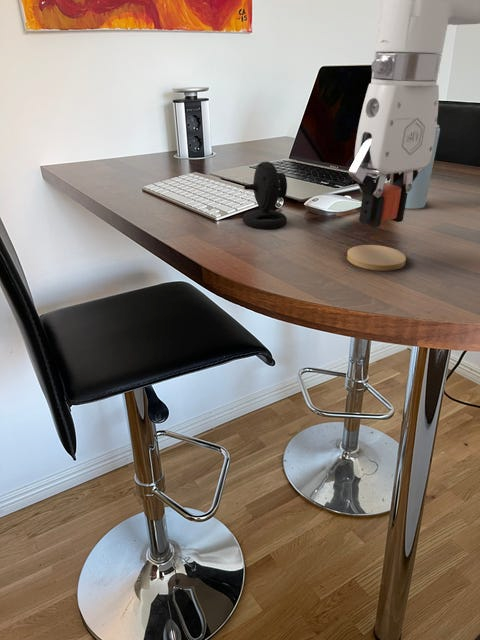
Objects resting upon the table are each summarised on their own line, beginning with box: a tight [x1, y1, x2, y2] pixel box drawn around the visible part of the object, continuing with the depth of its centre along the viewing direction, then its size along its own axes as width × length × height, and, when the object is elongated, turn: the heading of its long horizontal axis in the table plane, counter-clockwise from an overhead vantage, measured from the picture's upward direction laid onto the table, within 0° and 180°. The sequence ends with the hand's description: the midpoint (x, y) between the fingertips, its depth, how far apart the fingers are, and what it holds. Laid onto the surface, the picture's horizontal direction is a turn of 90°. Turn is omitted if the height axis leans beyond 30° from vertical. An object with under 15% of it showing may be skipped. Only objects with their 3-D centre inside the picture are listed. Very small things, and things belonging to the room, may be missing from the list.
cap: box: [381, 183, 401, 221], centre depth 66 cm, size 4×4×4 cm
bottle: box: [399, 123, 441, 210], centre depth 92 cm, size 7×7×20 cm
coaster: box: [346, 244, 407, 272], centre depth 70 cm, size 8×8×1 cm
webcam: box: [242, 161, 288, 230], centre depth 82 cm, size 8×8×10 cm
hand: (380, 220), depth 67 cm, fingers closed on cap, 3 cm apart
